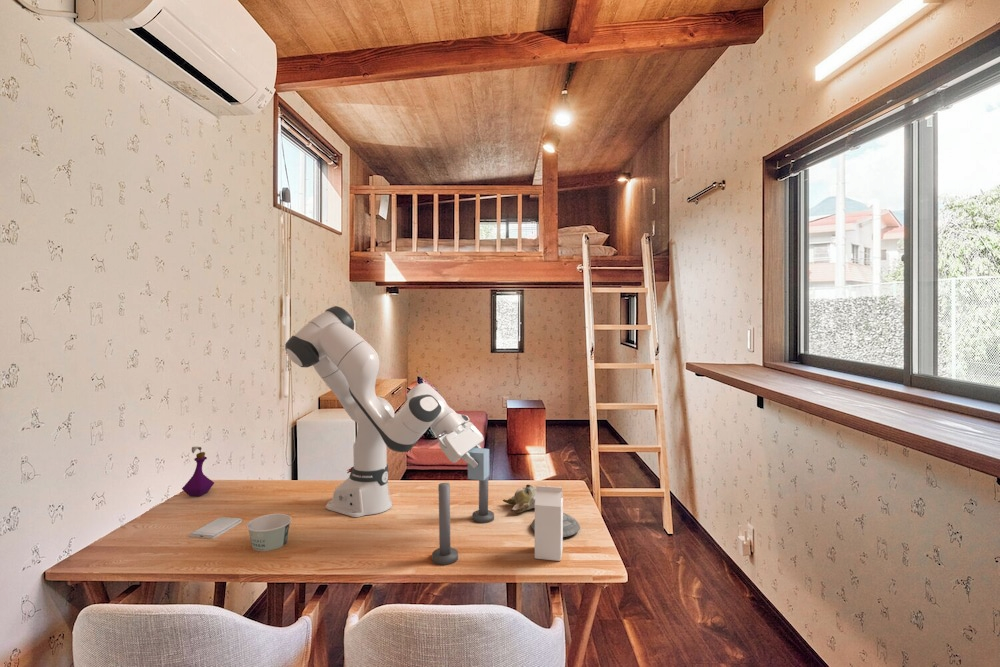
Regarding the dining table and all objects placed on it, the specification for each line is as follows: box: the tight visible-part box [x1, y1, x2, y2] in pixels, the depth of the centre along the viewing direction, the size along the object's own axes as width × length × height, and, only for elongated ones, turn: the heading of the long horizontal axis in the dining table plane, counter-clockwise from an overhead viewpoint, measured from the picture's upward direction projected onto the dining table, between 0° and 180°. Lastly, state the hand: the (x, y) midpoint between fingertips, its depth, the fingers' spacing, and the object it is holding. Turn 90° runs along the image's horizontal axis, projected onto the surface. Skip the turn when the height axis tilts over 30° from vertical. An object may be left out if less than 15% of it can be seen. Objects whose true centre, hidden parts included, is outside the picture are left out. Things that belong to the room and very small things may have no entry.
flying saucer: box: [530, 512, 581, 538], centre depth 155 cm, size 15×15×6 cm
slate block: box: [467, 447, 490, 481], centre depth 149 cm, size 5×5×8 cm
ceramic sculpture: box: [502, 484, 536, 513], centre depth 171 cm, size 11×9×15 cm
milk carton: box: [534, 485, 564, 562], centre depth 139 cm, size 7×7×19 cm
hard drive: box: [189, 516, 243, 540], centre depth 156 cm, size 2×8×12 cm
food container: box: [245, 513, 293, 552], centre depth 146 cm, size 12×12×6 cm
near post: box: [431, 482, 459, 566], centre depth 137 cm, size 7×7×20 cm
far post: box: [471, 475, 495, 524], centre depth 163 cm, size 7×7×20 cm
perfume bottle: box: [181, 446, 215, 497], centre depth 185 cm, size 8×8×18 cm
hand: (480, 462), depth 149 cm, fingers closed on slate block, 5 cm apart
